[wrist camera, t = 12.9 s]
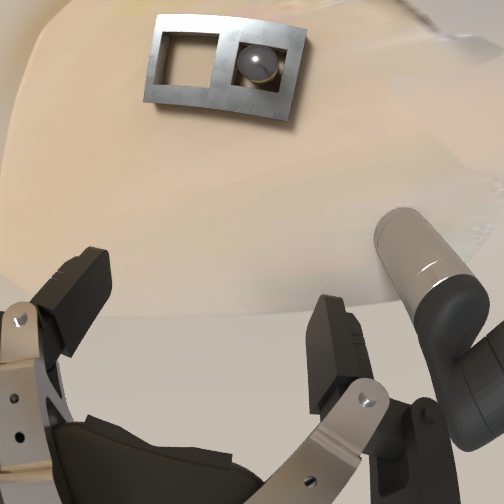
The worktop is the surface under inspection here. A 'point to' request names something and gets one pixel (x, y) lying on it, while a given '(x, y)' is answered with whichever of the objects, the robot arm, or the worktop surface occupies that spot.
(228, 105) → the grey fitting block
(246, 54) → the gold and grey cylinder
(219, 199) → the worktop surface
